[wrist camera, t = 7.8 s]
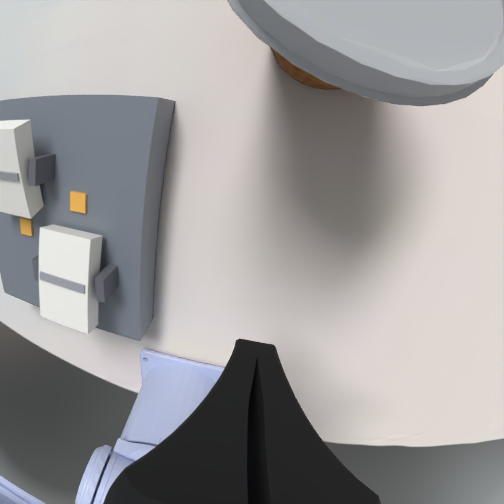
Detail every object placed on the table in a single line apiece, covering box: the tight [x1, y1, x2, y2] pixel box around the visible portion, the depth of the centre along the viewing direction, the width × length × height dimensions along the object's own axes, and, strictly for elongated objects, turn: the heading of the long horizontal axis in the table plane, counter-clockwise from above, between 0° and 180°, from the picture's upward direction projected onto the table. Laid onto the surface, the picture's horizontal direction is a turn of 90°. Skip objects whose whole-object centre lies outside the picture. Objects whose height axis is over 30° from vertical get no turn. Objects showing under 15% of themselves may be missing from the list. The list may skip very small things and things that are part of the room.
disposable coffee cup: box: [227, 0, 504, 106], centre depth 9 cm, size 10×10×12 cm
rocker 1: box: [0, 120, 44, 219], centre depth 14 cm, size 6×4×2 cm, turn 169°
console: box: [0, 95, 175, 341], centre depth 17 cm, size 16×14×5 cm
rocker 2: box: [39, 224, 103, 334], centre depth 16 cm, size 6×4×2 cm, turn 169°
